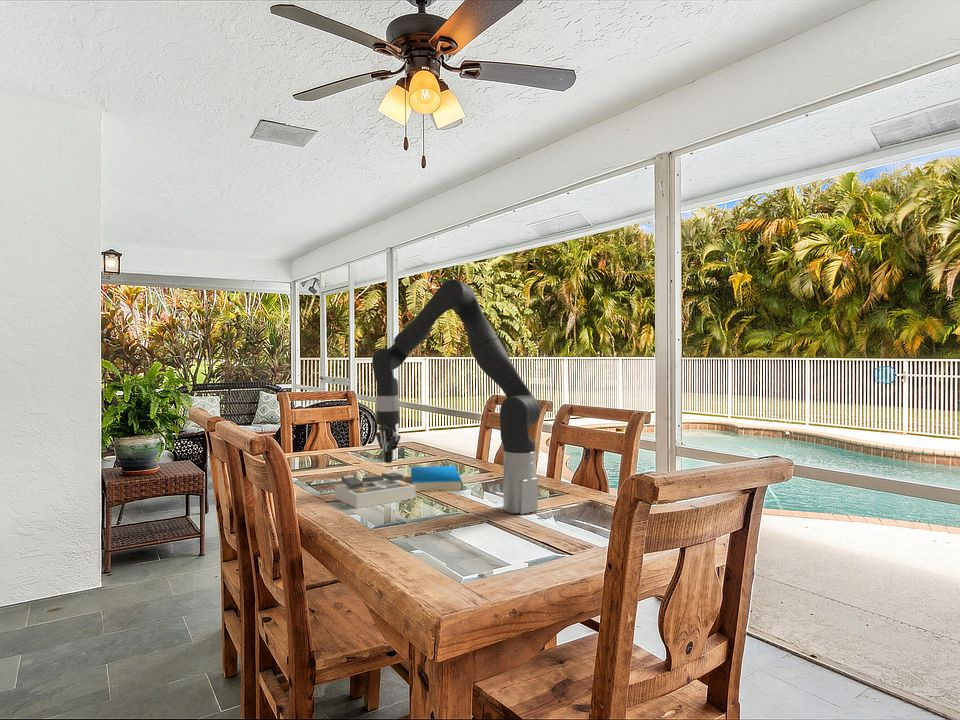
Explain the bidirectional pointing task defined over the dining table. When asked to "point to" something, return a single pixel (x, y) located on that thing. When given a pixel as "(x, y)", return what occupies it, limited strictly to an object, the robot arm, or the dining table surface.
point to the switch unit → (375, 493)
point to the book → (436, 478)
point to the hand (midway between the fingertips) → (388, 462)
